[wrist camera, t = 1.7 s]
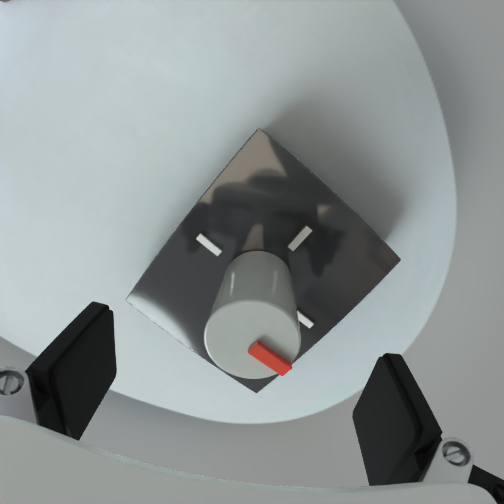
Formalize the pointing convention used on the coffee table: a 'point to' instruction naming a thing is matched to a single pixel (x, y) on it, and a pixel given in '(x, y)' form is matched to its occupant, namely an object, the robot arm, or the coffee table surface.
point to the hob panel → (264, 249)
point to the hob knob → (254, 318)
